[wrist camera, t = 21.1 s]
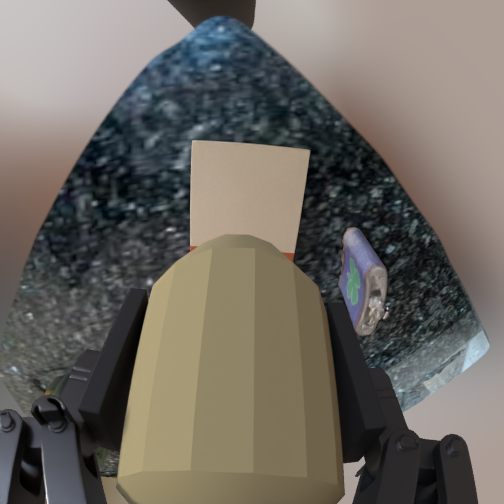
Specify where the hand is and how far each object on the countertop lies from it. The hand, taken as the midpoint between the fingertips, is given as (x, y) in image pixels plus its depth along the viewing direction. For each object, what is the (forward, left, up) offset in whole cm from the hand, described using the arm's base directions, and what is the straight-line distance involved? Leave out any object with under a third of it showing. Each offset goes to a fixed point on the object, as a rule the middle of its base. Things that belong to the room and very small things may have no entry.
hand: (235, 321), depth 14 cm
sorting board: (+8, +1, -22) cm, 23 cm away
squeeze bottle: (0, 0, -3) cm, 3 cm away
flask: (+9, +14, -22) cm, 27 cm away
